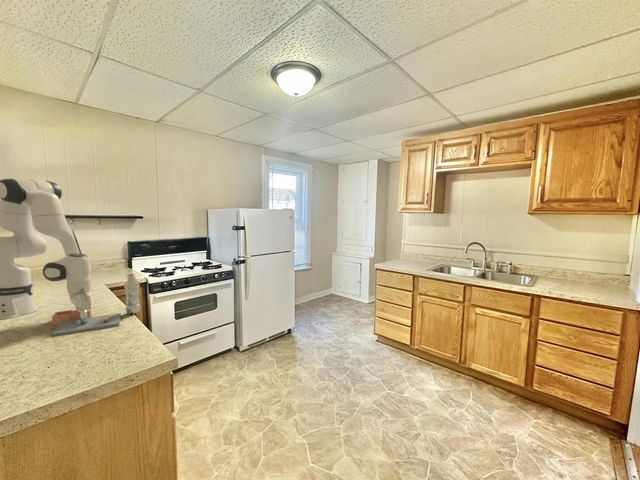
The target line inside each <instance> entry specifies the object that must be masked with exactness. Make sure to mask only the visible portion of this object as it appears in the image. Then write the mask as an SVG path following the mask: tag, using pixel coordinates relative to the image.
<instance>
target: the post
mask: <svg viewBox="0 0 640 480" xmlns="http://www.w3.org/2000/svg"><path fill="white" fill-rule="evenodd" d="M108 315H109V314H106V315H105V316H104V315H103V316H104V323H106V322H108ZM80 324H81V325H84V324H87V310H81V311H80Z"/></svg>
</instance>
